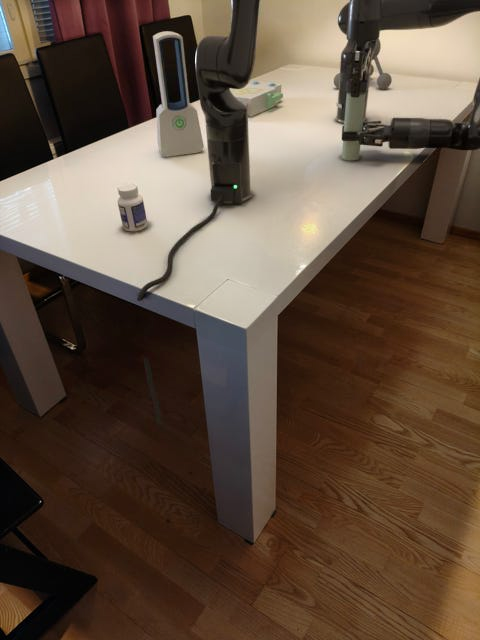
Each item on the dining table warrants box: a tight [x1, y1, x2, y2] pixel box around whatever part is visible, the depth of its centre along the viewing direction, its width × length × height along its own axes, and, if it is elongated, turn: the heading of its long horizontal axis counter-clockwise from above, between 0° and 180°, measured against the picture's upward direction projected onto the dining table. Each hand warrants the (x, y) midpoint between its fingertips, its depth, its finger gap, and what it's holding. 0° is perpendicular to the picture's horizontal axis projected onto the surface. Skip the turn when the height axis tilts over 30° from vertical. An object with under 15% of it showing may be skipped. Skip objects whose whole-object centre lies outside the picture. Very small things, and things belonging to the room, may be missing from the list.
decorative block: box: [230, 80, 284, 118], centre depth 173 cm, size 26×6×20 cm
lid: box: [346, 79, 368, 93], centre depth 121 cm, size 5×5×2 cm
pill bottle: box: [117, 182, 148, 232], centre depth 102 cm, size 5×5×9 cm
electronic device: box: [152, 30, 205, 158], centre depth 133 cm, size 12×8×30 cm, turn 105°
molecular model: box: [333, 37, 393, 90], centre depth 184 cm, size 24×22×30 cm
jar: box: [341, 92, 366, 162], centre depth 126 cm, size 5×5×18 cm
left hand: (357, 92), depth 122 cm, fingers open, 7 cm apart
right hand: (342, 133), depth 128 cm, fingers closed on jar, 4 cm apart
